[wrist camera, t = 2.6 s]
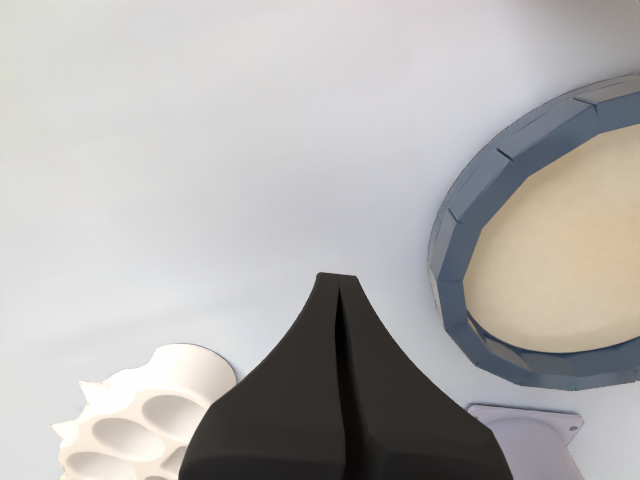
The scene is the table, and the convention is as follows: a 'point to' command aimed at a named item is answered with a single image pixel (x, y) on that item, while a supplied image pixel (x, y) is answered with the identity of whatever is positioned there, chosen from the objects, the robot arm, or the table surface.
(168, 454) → the white tube cluster
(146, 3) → the table surface
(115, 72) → the table surface
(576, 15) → the table surface
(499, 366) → the plate
